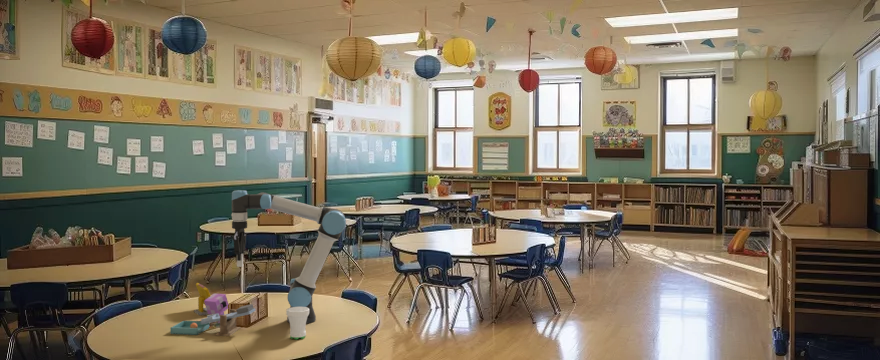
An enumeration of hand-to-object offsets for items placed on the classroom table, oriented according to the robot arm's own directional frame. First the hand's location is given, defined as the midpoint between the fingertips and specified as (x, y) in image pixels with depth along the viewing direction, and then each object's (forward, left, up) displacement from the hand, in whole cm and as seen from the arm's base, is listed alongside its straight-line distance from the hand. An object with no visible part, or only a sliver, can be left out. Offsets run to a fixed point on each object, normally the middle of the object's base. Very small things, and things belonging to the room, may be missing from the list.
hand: (240, 266), depth 350 cm
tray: (+24, +6, -32) cm, 41 cm away
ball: (+22, +6, -30) cm, 38 cm away
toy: (+17, -12, -33) cm, 39 cm away
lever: (+4, +6, -24) cm, 25 cm away
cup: (-34, +12, -33) cm, 49 cm away
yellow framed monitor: (+34, -31, -33) cm, 56 cm away
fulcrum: (+4, +6, -32) cm, 33 cm away
